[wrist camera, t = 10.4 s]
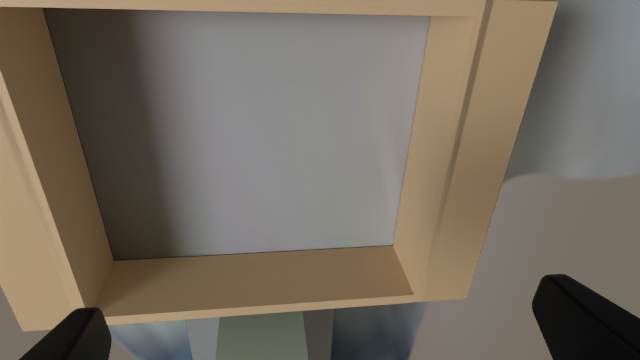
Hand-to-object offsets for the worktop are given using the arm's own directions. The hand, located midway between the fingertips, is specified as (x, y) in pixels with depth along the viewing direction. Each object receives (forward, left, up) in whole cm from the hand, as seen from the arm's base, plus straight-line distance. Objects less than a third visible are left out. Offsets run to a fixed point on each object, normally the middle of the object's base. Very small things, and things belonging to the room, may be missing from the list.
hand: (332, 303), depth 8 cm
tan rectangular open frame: (+2, +2, -11) cm, 11 cm away
